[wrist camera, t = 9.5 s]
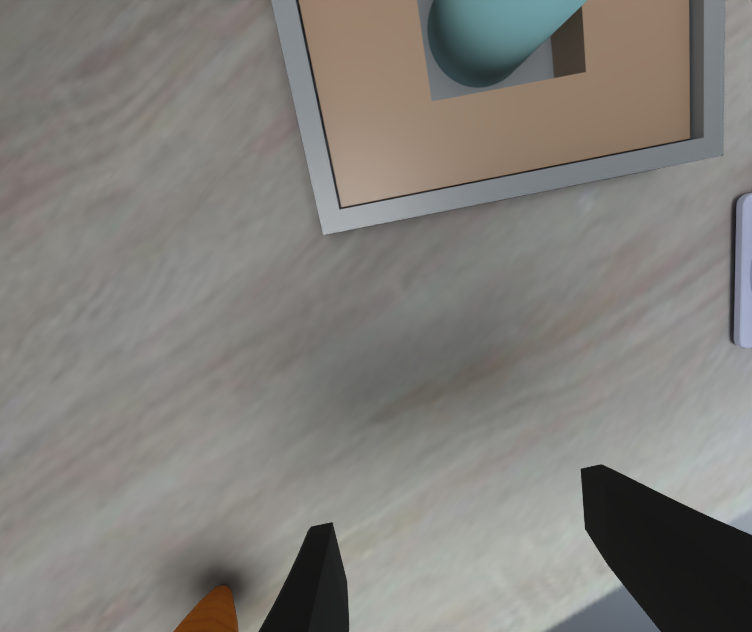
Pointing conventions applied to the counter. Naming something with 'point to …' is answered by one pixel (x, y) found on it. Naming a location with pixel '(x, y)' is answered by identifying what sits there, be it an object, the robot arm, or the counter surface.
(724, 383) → the counter surface
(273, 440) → the counter surface
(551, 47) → the bore box
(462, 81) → the teal peg
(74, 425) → the counter surface
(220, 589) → the carrot
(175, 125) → the counter surface
